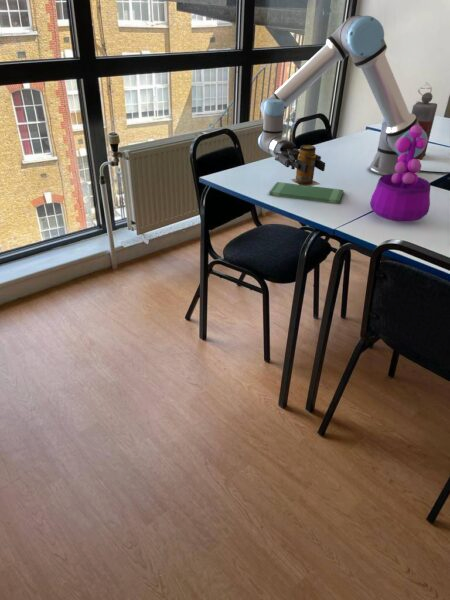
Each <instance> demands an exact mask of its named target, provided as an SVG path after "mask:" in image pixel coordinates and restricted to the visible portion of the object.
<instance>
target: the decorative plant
mask: <svg viewBox="0 0 450 600" xmlns="http://www.w3.org/2000/svg"><path fill="white" fill-rule="evenodd" d="M422 130H423V129H422V127H421V126H419V125H414V126H413V127H412V128H411V129H410V130H409V134H410V136H411V137H412V138H413V141H412V143H411V140H410V138H408V137H402V138H399V139H398V140H397V142H396V149H397V150H398V151H399V152H401V153H402V154H400V155H399V157H398V163H397V164H396V166H395V171H396V172H397V173H396V174H388V175H384V176H383V175H381V177H379V179H378V180H377V184H376V187H375V189H374V190H373V193H372V194H371V197H370V201H369V206H370V208H371V209H372V211H373V212H374V213H375V215H377V216H379V217H381V218H383V219H386V220H389V221H394V222H399V223H401V222H403V223H405V222H415V221H419V220H421V219H423V218H424V217H425V216H427V215H428V213H429V212H430V206H431V183H430V181H428V180H427V179H425V178H423V177H421V176H418V173H419V172H418V171H420V170H422V163H421V160H418V159H414V154H415V146H416V148H417V149H423V148H424V147H425V146H426V144H427V141H426V139H425V138H421V137H420V136H421V135H422V133H423V131H422ZM418 137H420V138H418ZM416 138H418V139H417V140H416ZM407 151H408V154H407V153H404V152H407ZM401 173H403V174H401Z"/></svg>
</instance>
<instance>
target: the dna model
mask: <svg viewBox="0 0 450 600" xmlns="http://www.w3.org/2000/svg"><path fill="white" fill-rule="evenodd" d="M425 86H428V87H425ZM422 89H423V90H424V89H427V90H428V89H429V90H430V91H429V93H431V94H432V90H433V87H432V85H430V84H429V83H428V82H427V81H425V84H423V85H421V86H420V87H419V88H418V90H417V92H418V94H419V95H420V96H421V97H422V96H423V95H424V94H423V93H421V90H422ZM421 101H422V98H420V99H418V100H416V101H415V103H414V104H416V103H417V102H421Z"/></svg>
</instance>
